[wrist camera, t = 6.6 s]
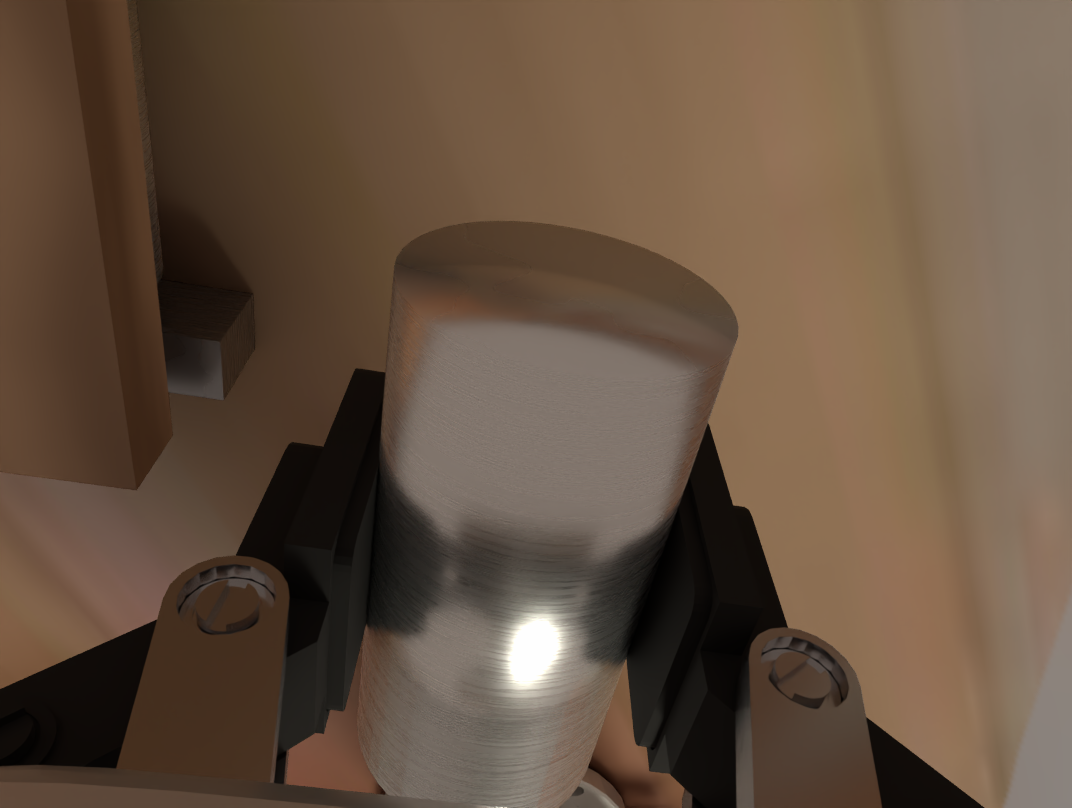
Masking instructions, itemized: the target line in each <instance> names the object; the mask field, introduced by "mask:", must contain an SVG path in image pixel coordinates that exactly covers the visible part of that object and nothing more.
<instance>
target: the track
mask: <svg viewBox="0 0 1072 808" xmlns="http://www.w3.org/2000/svg"><path fill="white" fill-rule="evenodd" d="M127 7H128V16H129V26H130V35H131V45H132V54H133V63H134V73H135V82H136V92H137V101H138V110H139V120H140V129H141V139H142V148H143V158H144V167H145V176H146V186H147V195H148V205H149V214H150V224H151V233H152V242H153V252H154V261H155V271H156V280H157V290H158V299H159V308H160V318H161V327H162V337H163V346H164V355H165V365H166V374H167V384H168V392H170V393H177V394H184V395H191V396H197V397H204V398H211V399H218V400H224V399H225V397H226V396H227V394H228V392H229V391H230V389H231V387H232V386H233V384H234V382H235V381H236V379H237V378H238V376H239V374H240V373H241V371H242V369H243V368H244V366H245V364H246V363H247V361H248V359H249V358H250V356H251V355H252V353H253V351H254V350H255V335H254V304H253V294H250V293H243V292H237V291H231V290H224V289H218V288H211V287H205V286H199V285H192V284H186V283H179V282H173V281H167V280H161V278H162V276H163V261H162V251H161V241H160V231H159V221H158V211H157V201H156V191H155V181H154V171H153V161H152V151H151V141H150V131H149V121H148V111H147V101H146V91H145V81H144V71H143V61H142V51H141V41H140V31H139V21H138V11H137V1H136V0H127Z"/></svg>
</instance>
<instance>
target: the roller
mask: <svg viewBox="0 0 1072 808" xmlns="http://www.w3.org/2000/svg"><path fill="white" fill-rule="evenodd" d="M737 337H738V323H737V319H736V316H735V314H734V312H733V310H732V308H731V307H730V305H729V304H728V303H727V301H726V300H725V299H724V297H723V296H722V295H721V294H720V293H719V292H718V291H716V290H715V289H714V288H713V287H712V286H711V285H710V284H708V283H707V282H706V281H705V280H703V279H702V278H700V277H699V276H697V275H696V274H694V273H693V272H691V271H690V270H688V269H686V268H685V267H683V266H681V265H679V264H677V263H676V262H674V261H672V260H670V259H667V258H665V257H663V256H661V255H659V254H657V253H654V252H652V251H649V250H647V249H645V248H642V247H639V246H637V245H634V244H631V243H628V242H625V241H622V240H619V239H615V238H612V237H609V236H605V235H601V234H597V233H593V232H589V231H585V230H580V229H575V228H570V227H564V226H557V225H551V224H542V223H533V222H518V221H487V222H473V223H464V224H458V225H453V226H448V227H444V228H441V229H437V230H434V231H431V232H429V233H426V234H424V235H421V236H420V237H418V238H416V239H415V240H413V241H411V242H410V243H409V244H408V245H407V246H405V247H404V248H403V249H402V251H401V252H400V254H399V255H398V256H397V259H396V262H395V265H394V276H393V288H392V300H391V313H390V325H389V337H388V349H387V361H386V373H385V386H384V398H383V410H382V422H381V434H380V446H379V473H378V485H377V498H376V510H375V522H374V534H373V547H372V559H371V571H370V584H369V596H368V608H367V620H366V627H365V631H364V641H363V653H362V666H361V678H360V690H359V702H358V717H357V730H358V738H359V743H360V747H361V751H362V754H363V757H364V759H365V761H366V764H367V766H368V768H369V770H370V772H371V773H372V775H373V776H374V778H375V780H376V781H377V783H378V784H379V785H380V786H381V787H382V789H383V790H384V791H385V792H386V793H387V795H391V796H401V797H410V798H420V799H429V800H439V801H448V802H457V803H466V804H475V805H484V806H493V807H503V808H559V807H560V806H561V805H562V804H563V803H564V802H565V801H566V800H567V799H569V798H570V796H571V795H572V794H573V792H574V791H575V790H576V789H577V787H578V786H579V784H580V782H581V781H582V779H583V777H584V775H585V773H586V771H587V768H588V765H589V763H590V760H591V757H592V754H593V751H594V749H595V746H596V743H597V740H598V737H599V734H600V731H601V728H602V726H603V723H604V720H605V717H606V714H607V711H608V708H609V705H610V703H611V700H612V697H613V694H614V691H615V688H616V685H617V682H618V680H619V677H620V674H621V671H622V668H623V665H624V662H625V659H626V657H627V654H628V651H629V648H630V645H631V642H632V639H633V636H634V634H635V631H636V628H637V625H638V622H639V619H640V616H641V613H642V611H643V608H644V605H645V602H646V599H647V596H648V593H649V590H650V588H651V585H652V582H653V579H654V576H655V573H656V570H657V567H658V565H659V562H660V559H661V556H662V553H663V550H664V547H665V544H666V542H667V539H668V536H669V533H670V530H671V527H672V524H673V521H674V519H675V516H676V513H677V510H678V507H679V504H680V501H681V498H682V496H683V493H684V490H685V487H686V484H687V481H688V478H689V475H690V473H691V470H692V467H693V464H694V461H695V458H696V455H697V452H698V450H699V447H700V444H701V441H702V438H703V435H704V432H705V429H706V427H707V424H708V421H709V418H710V415H711V412H712V409H713V406H714V404H715V401H716V398H717V395H718V392H719V389H720V386H721V383H722V381H723V378H724V375H725V372H726V369H727V366H728V363H729V360H730V358H731V355H732V352H733V349H734V346H735V343H736V340H737Z"/></svg>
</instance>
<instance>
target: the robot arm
mask: <svg viewBox="0 0 1072 808" xmlns="http://www.w3.org/2000/svg"><path fill="white" fill-rule="evenodd" d="M384 386H385V373H384V372H378V371H371V370H364V369H358V368H357V369H355V371H354V373H353V375H352V378H351V380H350V383H349V385H348V388H347V390H346V393H345V395H344V398H343V400H342V403H341V405H340V407H339V410H338V412H337V415H336V417H335V420H334V422H333V425H332V427H331V430H330V432H329V435H328V437H327V439H326V442H325V444H324V447H322V446H315V445H308V444H301V443H294V442H292V443H290V444H289V445H288V447H287V448H286V450H285V452H284V454H283V456H282V458H281V461H280V463H279V465H278V467H277V469H276V471H275V473H274V475H273V478H272V480H271V482H270V484H269V486H268V488H267V490H266V492H265V494H264V497H263V499H262V501H261V503H260V505H259V507H258V509H257V511H256V514H255V516H254V518H253V520H252V522H251V524H250V526H249V528H248V530H247V533H246V535H245V537H244V539H243V541H242V543H241V545H240V547H239V550H238V552H237V554H236V556H226V557H216V558H213V559H210V560H207V561H204V562H201V563H198V564H196V565H194V566H193V567H191V568H189V569H187V570H186V571H184V572H182V573H181V574H180V575H179V576H178V577H177V578H176V579H175V580H174V581H173V582H172V583H171V584H170V586H169V588H168V590H167V592H166V594H165V596H164V597H163V600H162V604H161V608H160V611H159V615H158V618H157V620H155V621H153V622H150V623H148V624H146V625H144V626H141V627H139V628H137V629H135V630H132V631H130V632H128V633H126V634H123V635H121V636H119V637H117V638H114V639H112V640H110V641H108V642H105V643H103V644H101V645H99V646H96V647H94V648H92V649H90V650H87V651H85V652H83V653H81V654H78V655H76V656H74V657H72V658H69V659H67V660H65V661H63V662H60V663H58V664H56V665H54V666H51V667H49V668H47V669H45V670H42V671H40V672H38V673H36V674H33V675H31V676H29V677H27V678H24V679H22V680H20V681H18V682H15V683H13V684H11V685H9V686H6V687H4V688H2V689H0V808H503V807H493V806H484V805H475V804H466V803H457V802H448V801H439V800H429V799H420V798H410V797H401V796H391V795H387V793H385V795H382V794H372V793H363V792H353V791H344V790H334V789H324V788H315V787H305V786H296V785H286V779H287V768H288V757H289V749H290V748H292V747H293V746H295V745H297V744H298V743H300V742H302V741H303V740H305V739H306V738H308V737H310V736H311V735H313V734H314V733H322V734H324V731H325V727H326V723H327V720H328V716H329V712H330V710H338V711H344V709H345V706H346V703H347V699H348V695H349V691H350V687H351V683H352V679H353V675H354V671H355V667H356V663H357V659H358V655H359V651H360V647H361V643H362V639H363V635H364V631H365V627H366V620H367V608H368V596H369V584H370V571H371V559H372V547H373V534H374V522H375V510H376V498H377V485H378V473H379V446H380V434H381V422H382V410H383V398H384ZM626 659H627V669H628V679H629V689H630V699H631V709H632V719H633V729H634V738H635V742H636V744H637V745H638V746H644V747H647V753H648V762H649V771H651V772H660V773H669V774H670V775H671V776H672V777H673V778H675V779H676V780H677V781H678V782H679V783H680V784H681V785H682V786H683V787H684V788H685V789H684V793H683V798H682V808H984V807H983V806H981V805H980V804H979V803H978V802H976V801H975V800H974V799H972V798H971V797H970V796H968V795H967V794H966V793H965V792H963V791H962V790H961V789H959V788H958V787H957V786H955V785H954V784H953V783H951V782H950V781H949V780H948V779H946V778H945V777H944V776H942V775H941V774H940V773H938V772H937V771H936V770H935V769H933V768H932V767H931V766H929V765H928V764H927V763H925V762H924V761H923V760H922V759H920V758H919V757H918V756H916V755H915V754H914V753H912V752H911V751H910V750H908V749H907V748H906V747H905V746H903V745H902V744H901V743H899V742H898V741H897V740H895V739H894V738H893V737H892V736H890V735H889V734H888V733H886V732H885V731H884V730H882V729H881V728H880V727H879V726H877V725H876V724H875V723H873V722H872V721H871V720H869V719H868V718H867V717H866V714H865V709H864V703H863V698H862V692H861V687H860V684H859V681H858V678H857V675H856V673H855V671H854V670H853V668H852V667H851V665H850V664H849V663H848V661H847V660H846V658H845V657H844V656H842V655H841V654H840V653H839V652H838V651H837V650H836V649H835V648H834V647H833V646H831V645H830V644H828V643H827V642H825V641H823V640H822V639H820V638H819V637H817V636H815V635H812V634H809V633H807V632H804V631H802V630H798V629H791V628H788V626H787V623H786V620H785V617H784V614H783V611H782V608H781V605H780V601H779V598H778V595H777V592H776V589H775V586H774V583H773V580H772V577H771V574H770V571H769V567H768V564H767V561H766V558H765V555H764V552H763V549H762V546H761V543H760V540H759V536H758V533H757V530H756V527H755V524H754V521H753V518H752V516H751V513H750V511H749V510H748V509H747V508H745V507H740V506H733V504H732V500H731V497H730V494H729V490H728V487H727V483H726V480H725V477H724V473H723V470H722V467H721V463H720V460H719V457H718V453H717V450H716V447H715V443H714V440H713V436H712V433H711V430H710V426H709V424H707V427H706V429H705V432H704V435H703V438H702V441H701V444H700V447H699V450H698V452H697V455H696V458H695V461H694V464H693V467H692V470H691V473H690V475H689V478H688V481H687V484H686V487H685V490H684V493H683V496H682V498H681V501H680V504H679V507H678V510H677V513H676V516H675V519H674V521H673V524H672V527H671V530H670V533H669V536H668V539H667V542H666V544H665V547H664V550H663V553H662V556H661V559H660V562H659V565H658V567H657V570H656V573H655V576H654V579H653V582H652V585H651V588H650V590H649V593H648V596H647V599H646V602H645V605H644V608H643V611H642V613H641V616H640V619H639V622H638V625H637V628H636V631H635V634H634V636H633V639H632V642H631V645H630V648H629V651H628V654H627V657H626ZM559 808H625V805H624V803H623V800H622V797H621V796H620V795H619V793H618V792H617V791H616V789H615V788H614V787H613V786H612V785H611V784H610V783H609V782H608V781H607V780H605V779H604V778H603V777H602V776H601V775H599V774H598V773H597V772H595V771H593V770H591V769H589V768H587V771H586V773H585V775H584V777H583V779H582V781H581V782H580V784H579V786H578V787H577V789H576V790H575V791H574V792H573V794H572V795H571V796H570V798H569V799H567V800H566V801H565V802H564V803H563V804H562V805H561V806H560V807H559Z"/></svg>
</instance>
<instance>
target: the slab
mask: <svg viewBox="0 0 1072 808" xmlns="http://www.w3.org/2000/svg"><path fill="white" fill-rule="evenodd" d="M172 436H173V431H172V421H171V412H170V403H169V393H168V384H167V374H166V365H165V355H164V346H163V337H162V327H161V318H160V308H159V299H158V290H157V280H156V271H155V261H154V252H153V242H152V233H151V224H150V214H149V205H148V195H147V186H146V176H145V167H144V158H143V148H142V139H141V129H140V120H139V110H138V101H137V92H136V82H135V73H134V63H133V54H132V45H131V35H130V26H129V16H128V7H127V0H0V472H5V473H12V474H19V475H27V476H34V477H42V478H49V479H57V480H64V481H71V482H79V483H86V484H94V485H101V486H109V487H116V488H123V489H131V490H137V489H138V487H139V486H140V484H141V483H142V481H143V480H144V478H145V477H146V475H147V474H148V472H149V471H150V469H151V468H152V466H153V465H154V463H155V462H156V460H157V459H158V457H159V456H160V454H161V452H162V451H163V449H164V448H165V446H166V445H167V443H168V442H169V440H170V439H171V437H172Z"/></svg>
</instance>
